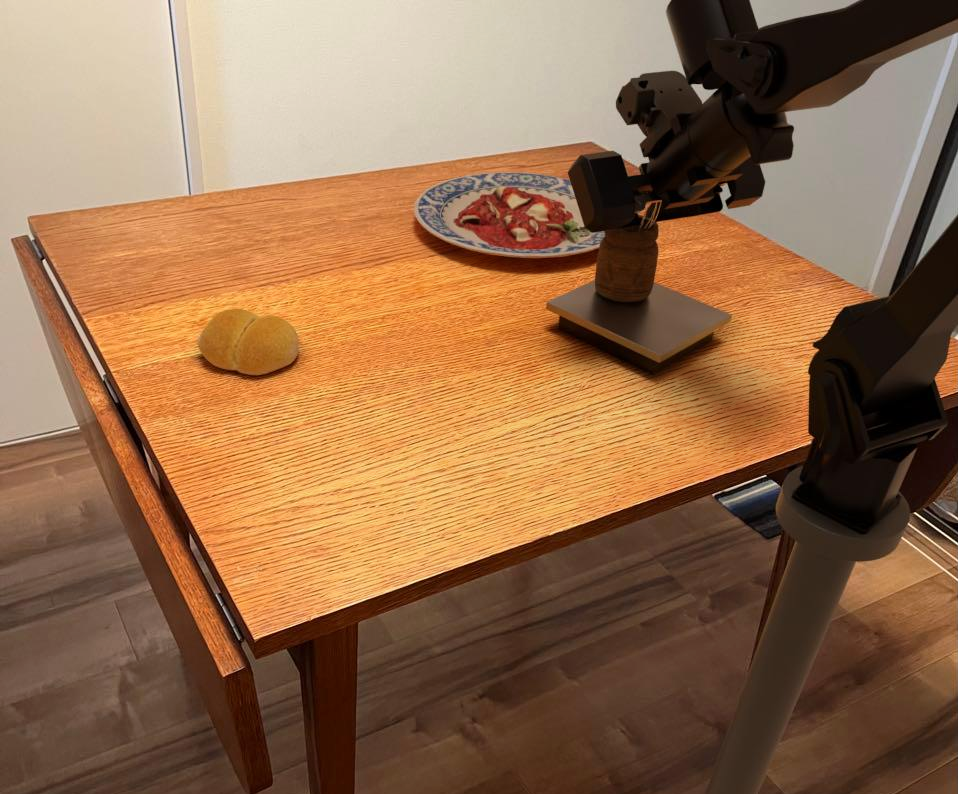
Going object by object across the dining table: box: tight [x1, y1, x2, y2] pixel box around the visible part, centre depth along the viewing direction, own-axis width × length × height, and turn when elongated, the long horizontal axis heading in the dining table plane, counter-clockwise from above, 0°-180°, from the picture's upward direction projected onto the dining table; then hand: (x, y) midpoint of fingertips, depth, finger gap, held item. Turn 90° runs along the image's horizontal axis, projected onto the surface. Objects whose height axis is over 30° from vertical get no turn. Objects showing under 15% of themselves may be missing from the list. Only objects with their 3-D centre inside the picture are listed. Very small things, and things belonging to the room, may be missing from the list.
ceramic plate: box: [413, 171, 605, 259], centre depth 111 cm, size 26×26×3 cm
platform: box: [545, 279, 733, 376], centre depth 92 cm, size 14×12×3 cm
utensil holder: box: [594, 158, 661, 302], centre depth 89 cm, size 6×6×12 cm
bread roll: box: [197, 307, 300, 376], centre depth 85 cm, size 8×9×4 cm
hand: (623, 222), depth 90 cm, fingers closed on utensil holder, 5 cm apart
